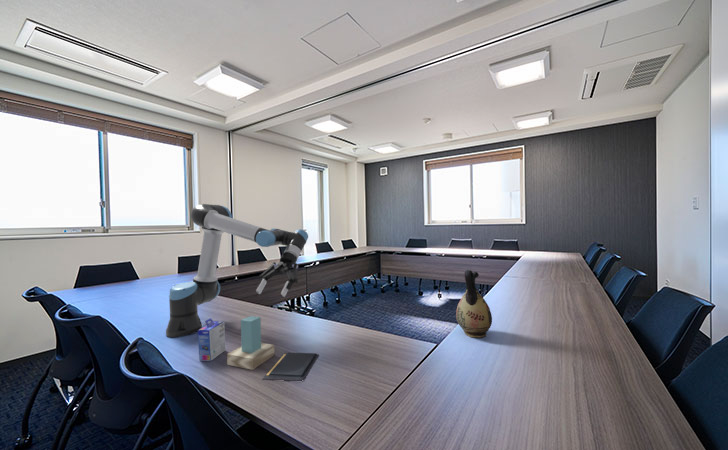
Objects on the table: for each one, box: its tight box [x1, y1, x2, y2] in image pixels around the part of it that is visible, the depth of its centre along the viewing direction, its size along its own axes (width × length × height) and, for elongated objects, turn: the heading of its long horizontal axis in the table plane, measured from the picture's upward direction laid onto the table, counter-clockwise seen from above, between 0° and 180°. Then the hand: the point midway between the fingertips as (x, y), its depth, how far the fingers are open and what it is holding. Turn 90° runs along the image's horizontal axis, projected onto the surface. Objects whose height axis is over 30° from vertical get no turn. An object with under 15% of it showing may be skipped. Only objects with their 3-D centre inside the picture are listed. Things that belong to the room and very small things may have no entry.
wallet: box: [261, 352, 320, 382], centre depth 103 cm, size 20×2×15 cm
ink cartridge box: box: [197, 317, 227, 362], centre depth 113 cm, size 10×6×14 cm, turn 174°
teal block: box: [240, 315, 262, 353], centre depth 108 cm, size 5×5×12 cm
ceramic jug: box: [455, 269, 493, 338], centre depth 128 cm, size 17×15×30 cm
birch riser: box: [226, 342, 275, 370], centre depth 108 cm, size 12×12×4 cm
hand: (270, 293), depth 124 cm, fingers open, 13 cm apart
